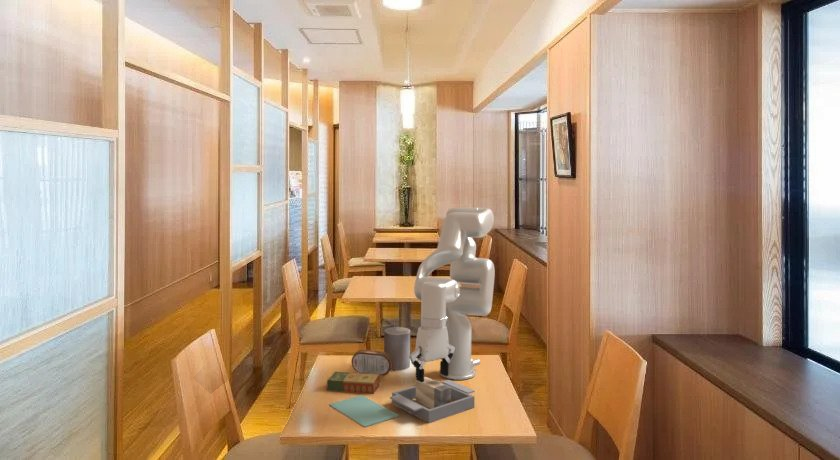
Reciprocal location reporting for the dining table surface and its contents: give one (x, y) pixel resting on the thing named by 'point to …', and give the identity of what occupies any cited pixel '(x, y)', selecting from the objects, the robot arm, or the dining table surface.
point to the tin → (372, 362)
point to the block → (432, 393)
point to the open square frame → (430, 415)
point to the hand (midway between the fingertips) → (432, 377)
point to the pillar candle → (398, 346)
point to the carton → (353, 382)
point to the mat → (363, 410)
